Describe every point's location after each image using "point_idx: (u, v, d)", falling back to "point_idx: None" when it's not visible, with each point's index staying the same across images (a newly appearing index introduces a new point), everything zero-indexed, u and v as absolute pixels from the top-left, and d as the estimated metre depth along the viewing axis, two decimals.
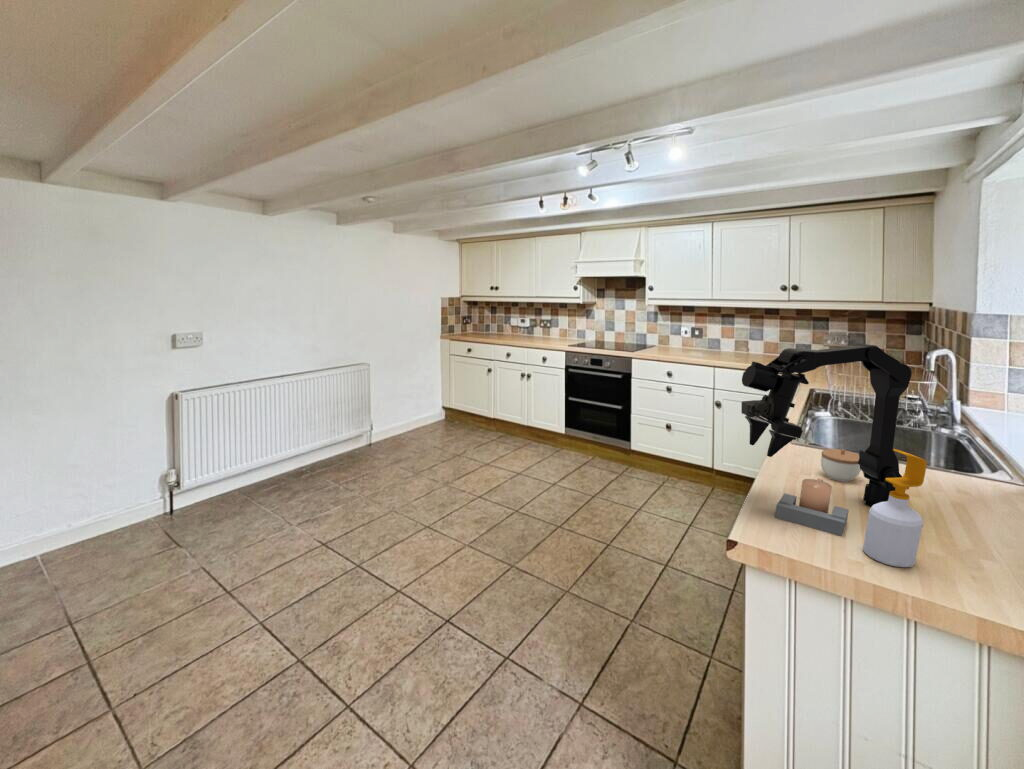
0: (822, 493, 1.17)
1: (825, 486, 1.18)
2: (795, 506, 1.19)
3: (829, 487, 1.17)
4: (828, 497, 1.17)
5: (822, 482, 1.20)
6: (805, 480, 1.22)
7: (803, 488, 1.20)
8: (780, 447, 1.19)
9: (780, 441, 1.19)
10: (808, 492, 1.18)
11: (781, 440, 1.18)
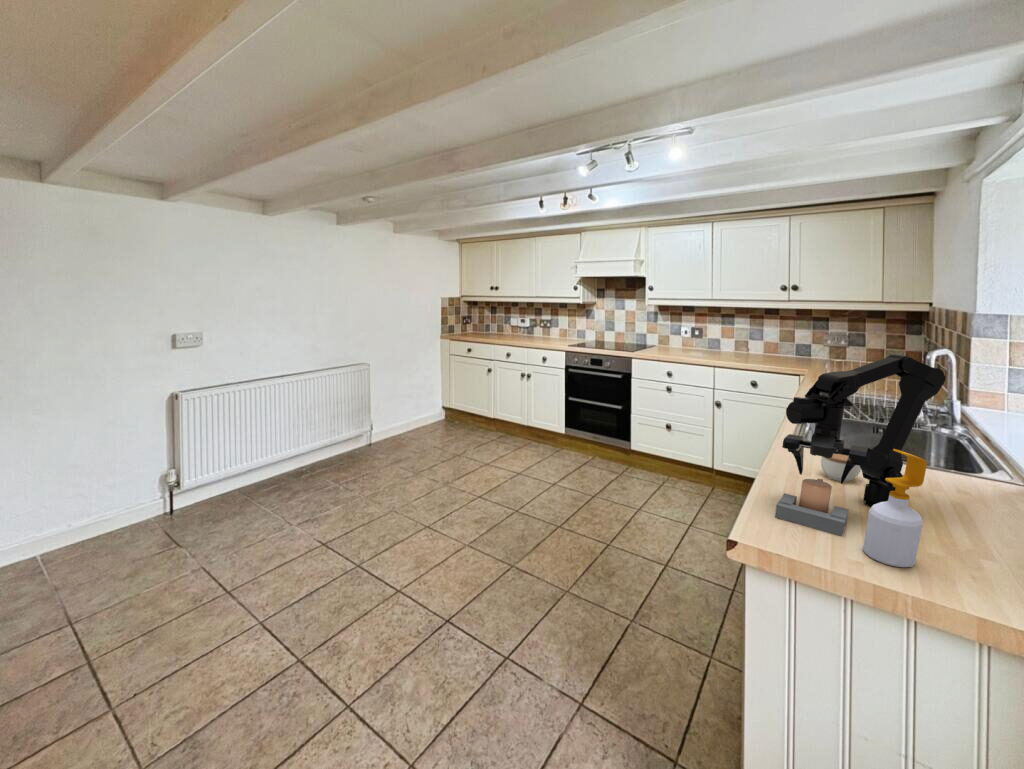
0: (822, 493, 1.17)
1: (825, 486, 1.18)
2: (795, 506, 1.19)
3: (829, 487, 1.17)
4: (828, 497, 1.17)
5: (822, 482, 1.20)
6: (805, 480, 1.22)
7: (803, 488, 1.20)
8: None
9: None
10: (808, 492, 1.18)
11: None
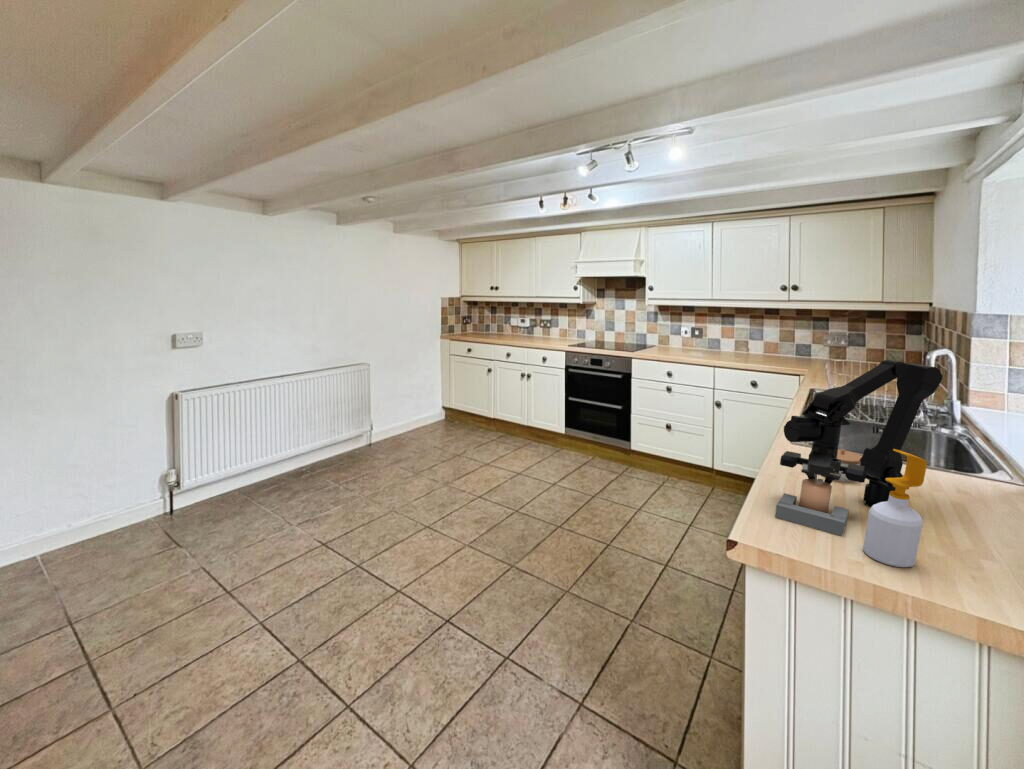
0: (822, 493, 1.17)
1: (825, 486, 1.18)
2: (795, 506, 1.19)
3: (829, 487, 1.17)
4: (828, 497, 1.17)
5: (822, 482, 1.20)
6: (805, 480, 1.22)
7: (803, 488, 1.20)
8: None
9: None
10: (808, 492, 1.18)
11: None
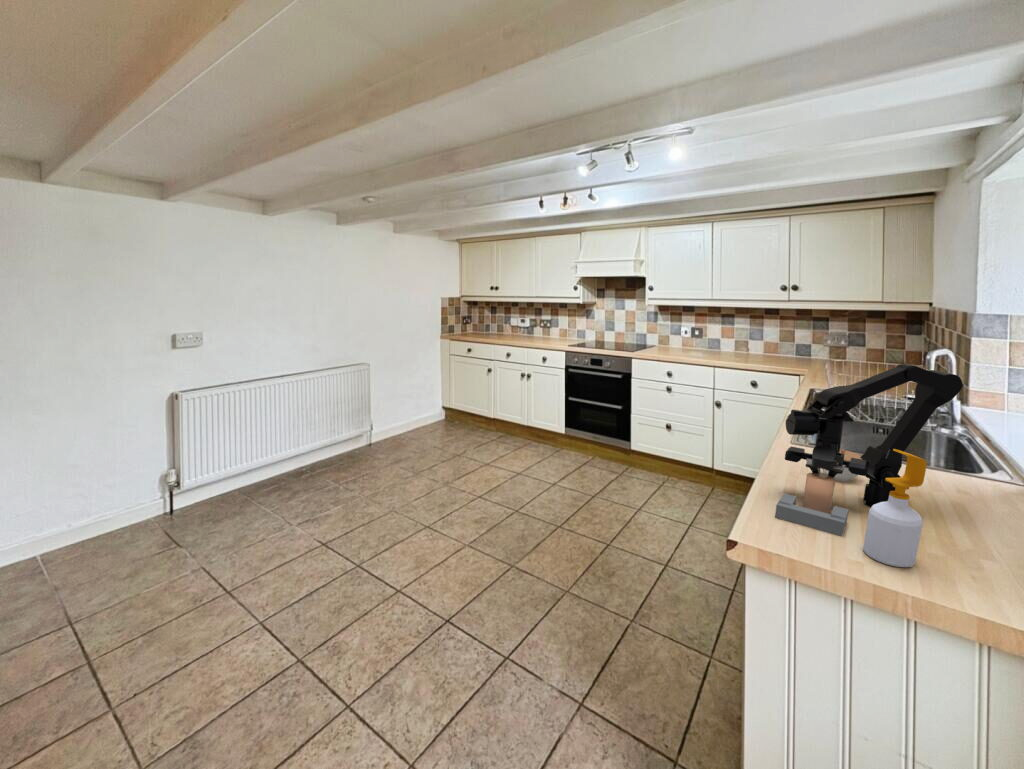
0: (826, 485, 1.21)
1: (829, 479, 1.22)
2: (795, 506, 1.19)
3: (833, 480, 1.21)
4: (832, 490, 1.21)
5: (826, 476, 1.24)
6: (809, 474, 1.26)
7: (808, 481, 1.24)
8: None
9: None
10: (813, 485, 1.22)
11: None
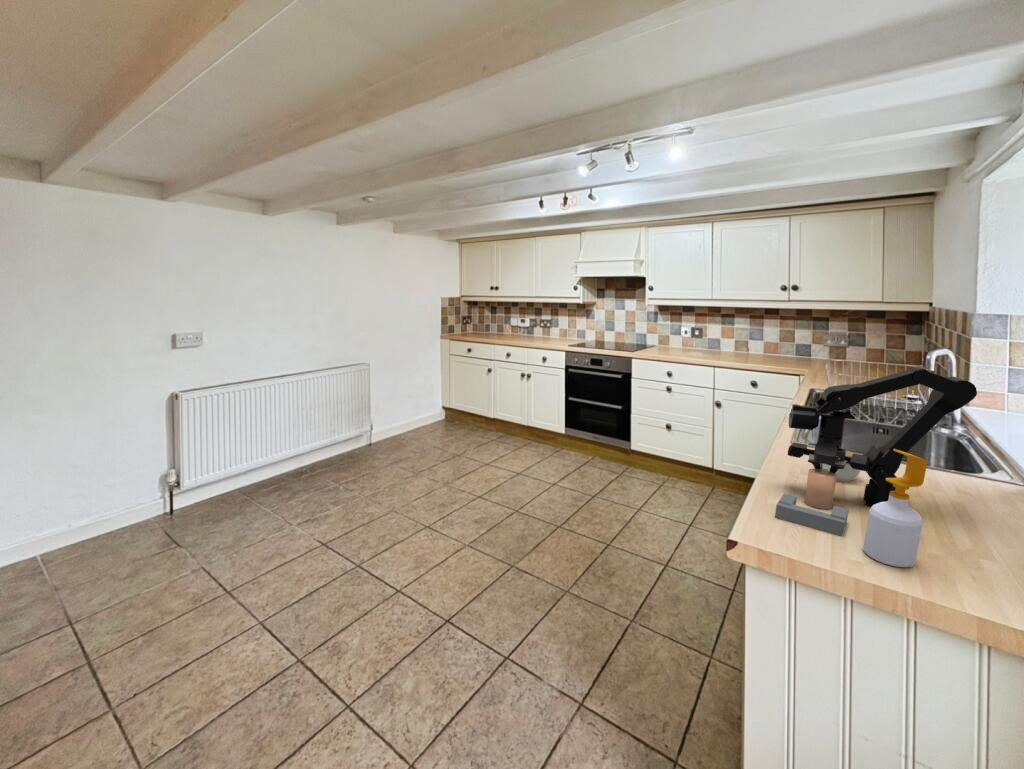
0: (828, 481, 1.24)
1: (830, 474, 1.25)
2: (795, 506, 1.19)
3: (834, 475, 1.24)
4: (833, 485, 1.24)
5: (827, 471, 1.27)
6: (811, 469, 1.29)
7: (809, 477, 1.27)
8: None
9: None
10: (814, 480, 1.25)
11: None
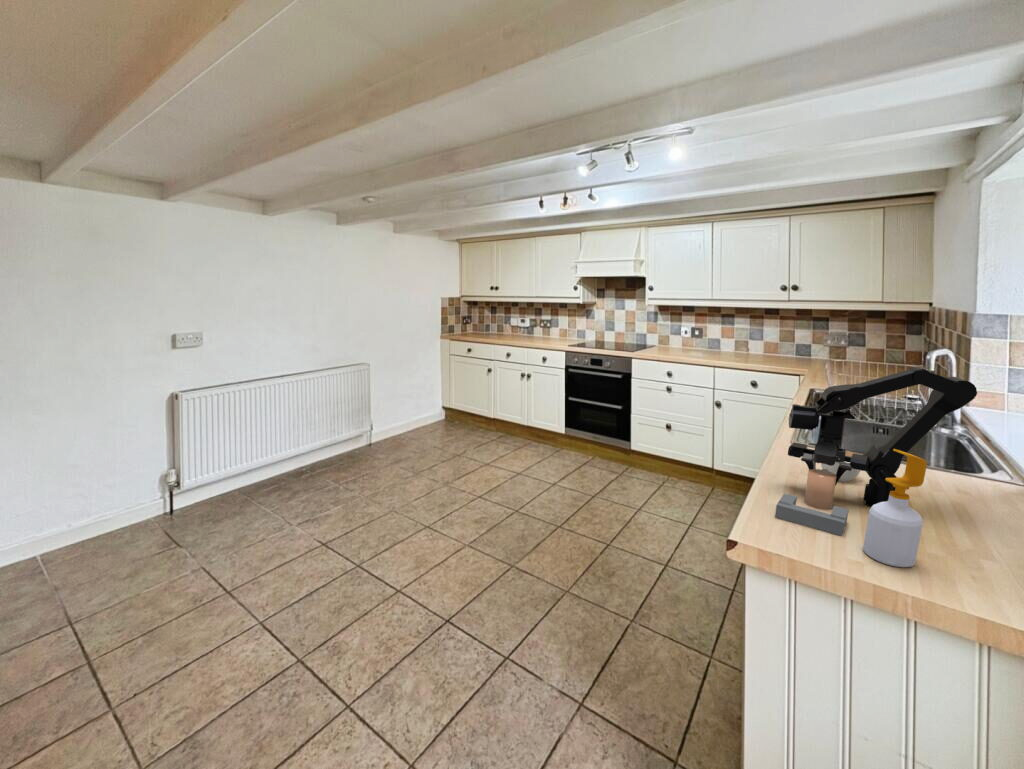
0: (827, 482, 1.24)
1: (830, 475, 1.25)
2: (795, 506, 1.19)
3: (834, 476, 1.24)
4: (833, 486, 1.24)
5: (827, 472, 1.27)
6: (811, 470, 1.29)
7: (809, 477, 1.27)
8: None
9: None
10: (814, 481, 1.25)
11: None
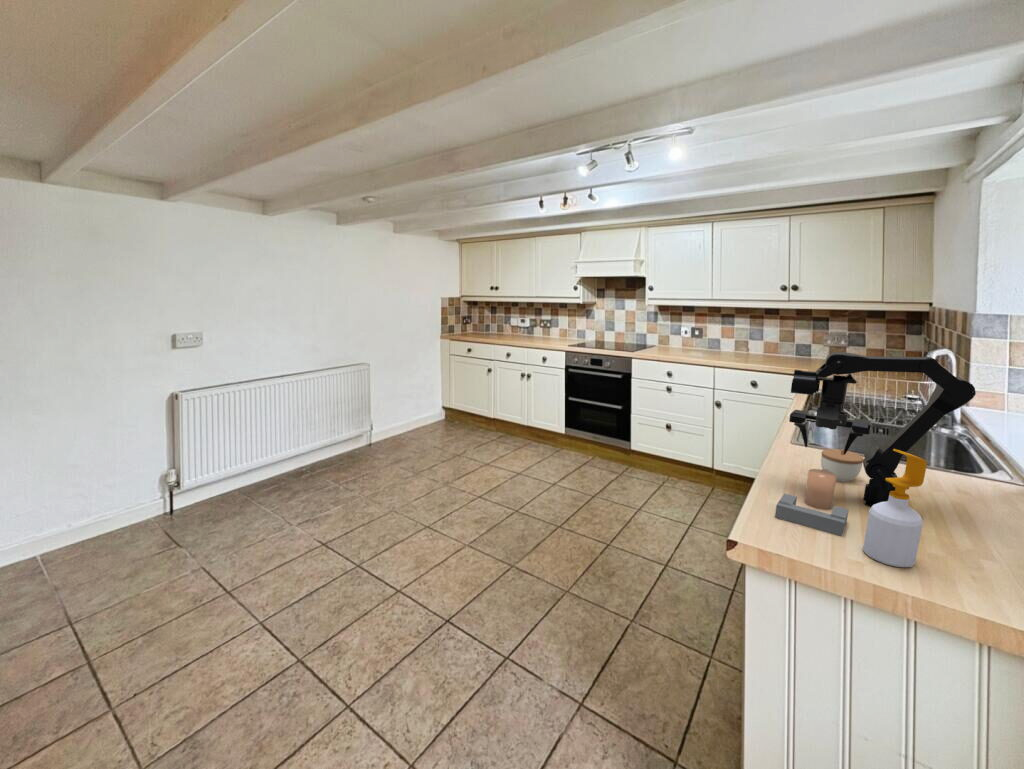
0: (827, 482, 1.24)
1: (830, 475, 1.25)
2: (795, 506, 1.19)
3: (834, 476, 1.24)
4: (833, 486, 1.24)
5: (827, 472, 1.27)
6: (811, 470, 1.29)
7: (809, 477, 1.27)
8: None
9: None
10: (814, 481, 1.25)
11: None
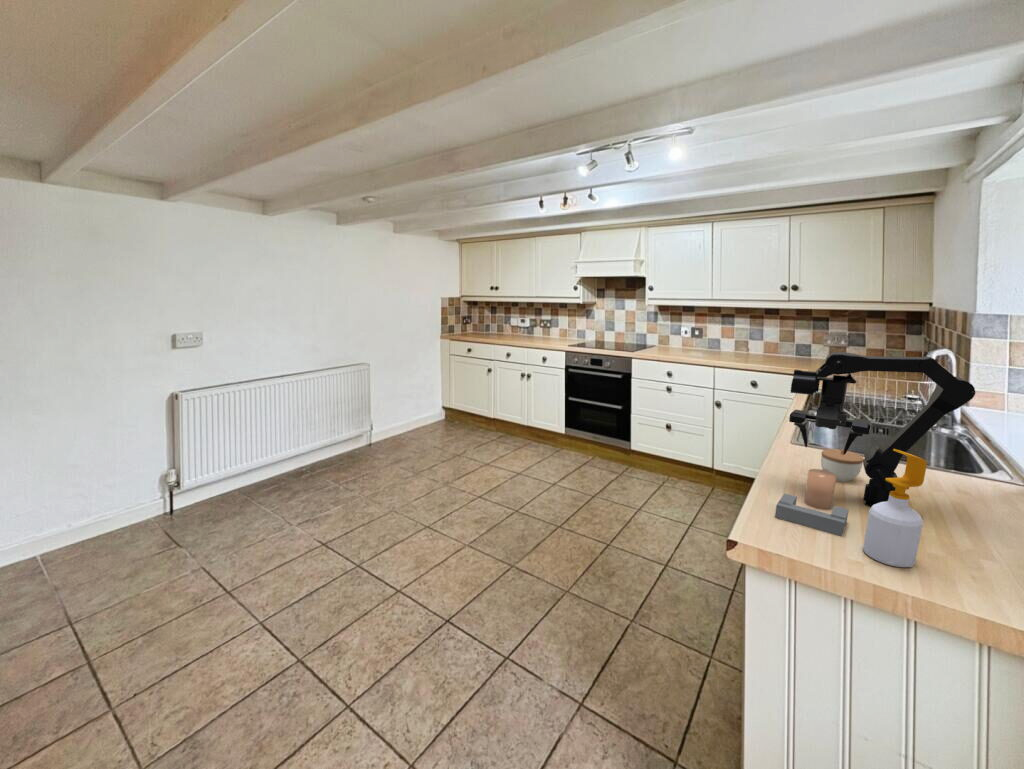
0: (827, 482, 1.24)
1: (830, 475, 1.25)
2: (795, 506, 1.19)
3: (834, 476, 1.24)
4: (833, 486, 1.24)
5: (827, 472, 1.27)
6: (811, 470, 1.29)
7: (809, 477, 1.27)
8: None
9: None
10: (814, 481, 1.25)
11: None
